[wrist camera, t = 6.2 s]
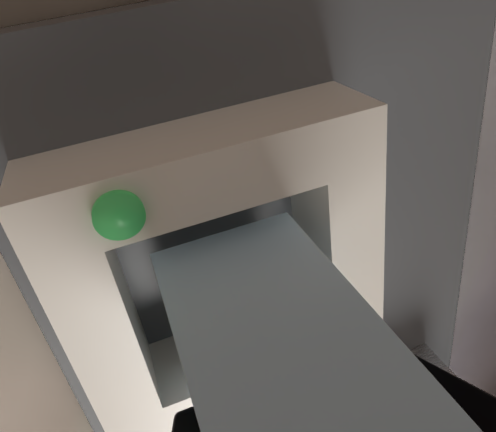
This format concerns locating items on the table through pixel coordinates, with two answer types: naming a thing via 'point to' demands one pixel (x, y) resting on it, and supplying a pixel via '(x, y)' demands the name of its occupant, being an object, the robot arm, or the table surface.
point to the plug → (290, 340)
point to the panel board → (260, 86)
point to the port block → (188, 223)
